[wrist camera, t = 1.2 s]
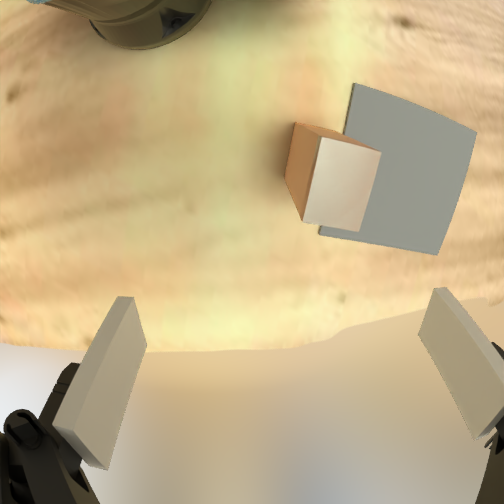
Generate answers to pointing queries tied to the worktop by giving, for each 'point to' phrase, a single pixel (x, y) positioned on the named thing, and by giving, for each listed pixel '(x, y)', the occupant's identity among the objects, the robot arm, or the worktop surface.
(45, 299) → the worktop surface
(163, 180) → the worktop surface
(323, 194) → the tall block
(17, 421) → the robot arm
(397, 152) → the mat
